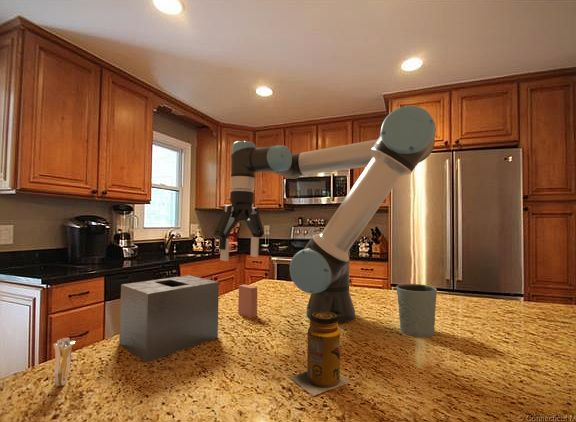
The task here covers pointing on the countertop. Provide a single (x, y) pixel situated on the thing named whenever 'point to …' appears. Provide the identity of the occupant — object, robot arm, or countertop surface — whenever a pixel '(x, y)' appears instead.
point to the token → (247, 301)
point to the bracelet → (62, 371)
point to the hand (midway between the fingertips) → (240, 258)
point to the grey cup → (417, 309)
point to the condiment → (322, 355)
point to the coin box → (168, 315)
